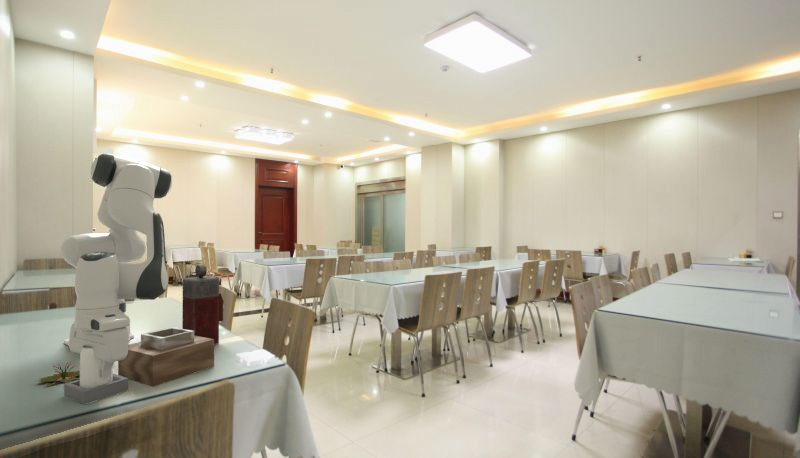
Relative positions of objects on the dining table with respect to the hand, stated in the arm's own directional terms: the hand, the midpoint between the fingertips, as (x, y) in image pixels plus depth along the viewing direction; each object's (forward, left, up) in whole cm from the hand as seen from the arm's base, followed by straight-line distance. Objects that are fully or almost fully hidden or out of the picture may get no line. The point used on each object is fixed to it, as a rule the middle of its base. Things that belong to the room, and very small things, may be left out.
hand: (97, 374), depth 100 cm
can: (0, 0, -5) cm, 5 cm away
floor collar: (0, 0, -5) cm, 5 cm away
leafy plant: (-19, +1, -5) cm, 20 cm away
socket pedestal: (0, +18, -5) cm, 19 cm away
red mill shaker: (-17, +42, -5) cm, 46 cm away
